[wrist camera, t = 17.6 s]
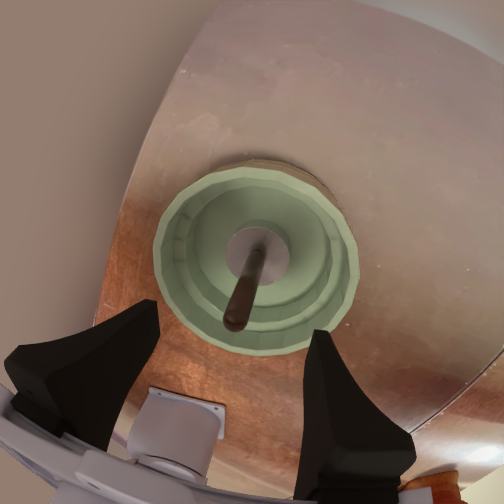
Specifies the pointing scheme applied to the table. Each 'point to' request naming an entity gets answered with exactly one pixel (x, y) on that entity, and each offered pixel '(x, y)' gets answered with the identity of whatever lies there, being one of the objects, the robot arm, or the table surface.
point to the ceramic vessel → (439, 487)
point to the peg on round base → (253, 266)
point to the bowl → (223, 281)
